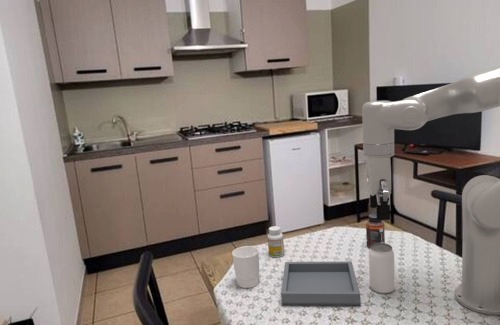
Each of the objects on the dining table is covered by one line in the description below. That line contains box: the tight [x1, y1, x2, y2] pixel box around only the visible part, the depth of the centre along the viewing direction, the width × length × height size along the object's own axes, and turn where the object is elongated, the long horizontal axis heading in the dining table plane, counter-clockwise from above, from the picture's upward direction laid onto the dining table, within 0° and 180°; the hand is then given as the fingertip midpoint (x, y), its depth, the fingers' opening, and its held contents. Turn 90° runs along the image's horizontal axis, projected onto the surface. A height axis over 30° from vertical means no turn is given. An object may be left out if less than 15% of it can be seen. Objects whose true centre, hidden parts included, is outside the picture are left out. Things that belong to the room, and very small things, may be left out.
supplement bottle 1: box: [267, 225, 285, 258], centre depth 126 cm, size 5×5×10 cm
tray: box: [280, 260, 361, 307], centre depth 102 cm, size 20×18×4 cm
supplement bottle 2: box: [365, 213, 386, 249], centre depth 125 cm, size 6×6×11 cm
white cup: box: [231, 245, 260, 289], centre depth 108 cm, size 8×8×10 cm
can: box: [368, 243, 396, 295], centre depth 99 cm, size 6×6×12 cm
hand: (379, 213), depth 96 cm, fingers open, 9 cm apart
